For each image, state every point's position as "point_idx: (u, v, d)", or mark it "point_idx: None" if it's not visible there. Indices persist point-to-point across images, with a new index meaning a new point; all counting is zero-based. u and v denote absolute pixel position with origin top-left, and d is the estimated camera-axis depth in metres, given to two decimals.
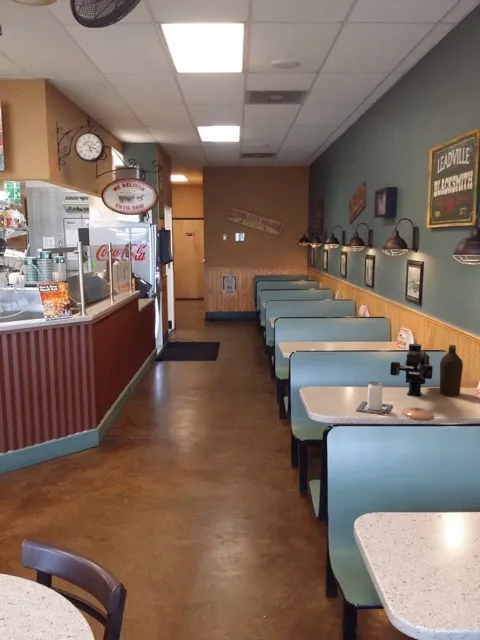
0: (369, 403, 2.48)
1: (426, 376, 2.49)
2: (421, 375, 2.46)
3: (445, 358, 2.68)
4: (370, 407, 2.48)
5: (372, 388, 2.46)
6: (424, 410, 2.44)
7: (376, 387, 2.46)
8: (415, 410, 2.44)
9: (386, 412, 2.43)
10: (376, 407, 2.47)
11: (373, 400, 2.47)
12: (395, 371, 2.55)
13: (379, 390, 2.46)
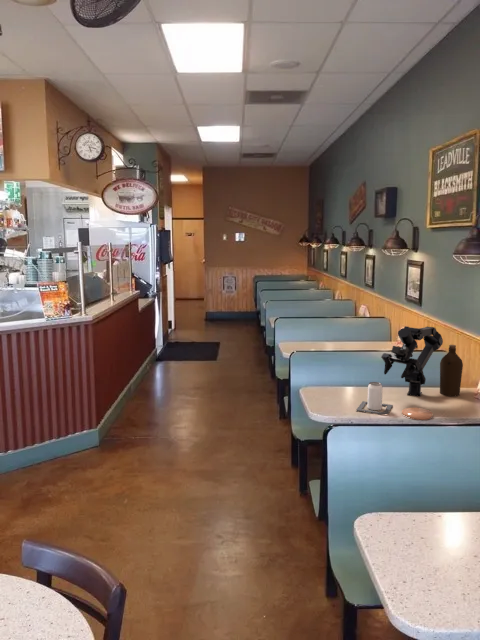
0: (369, 403, 2.48)
1: (413, 369, 2.53)
2: (405, 375, 2.52)
3: (445, 358, 2.68)
4: (370, 407, 2.48)
5: (372, 388, 2.46)
6: (424, 410, 2.44)
7: (376, 387, 2.46)
8: (415, 410, 2.44)
9: (386, 412, 2.43)
10: (376, 407, 2.47)
11: (373, 400, 2.47)
12: None
13: (379, 390, 2.46)
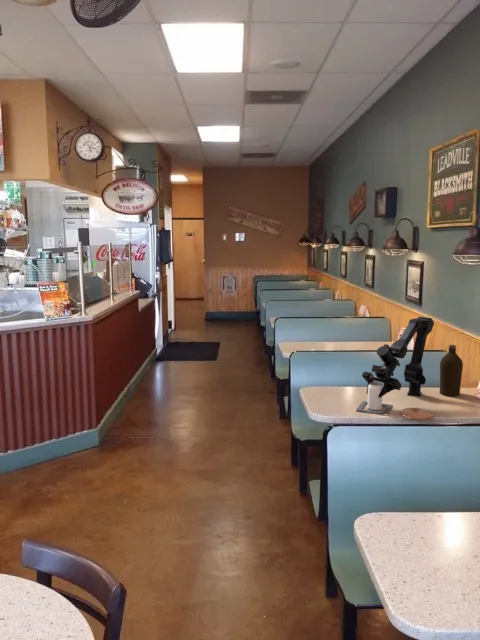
0: (369, 403, 2.48)
1: (391, 388, 2.47)
2: (382, 394, 2.46)
3: (445, 358, 2.68)
4: (370, 407, 2.48)
5: (372, 388, 2.46)
6: (424, 410, 2.44)
7: (376, 387, 2.46)
8: (415, 410, 2.44)
9: (386, 412, 2.43)
10: (376, 407, 2.47)
11: (373, 400, 2.47)
12: None
13: (379, 390, 2.46)
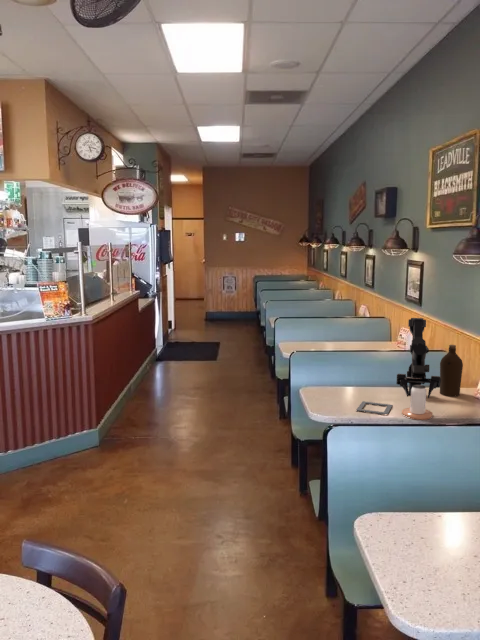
0: (416, 408, 2.38)
1: (434, 387, 2.42)
2: None
3: (445, 358, 2.68)
4: (418, 412, 2.38)
5: (420, 392, 2.36)
6: None
7: (423, 390, 2.37)
8: None
9: (386, 412, 2.43)
10: (424, 410, 2.38)
11: (421, 404, 2.37)
12: (402, 384, 2.45)
13: (425, 392, 2.38)
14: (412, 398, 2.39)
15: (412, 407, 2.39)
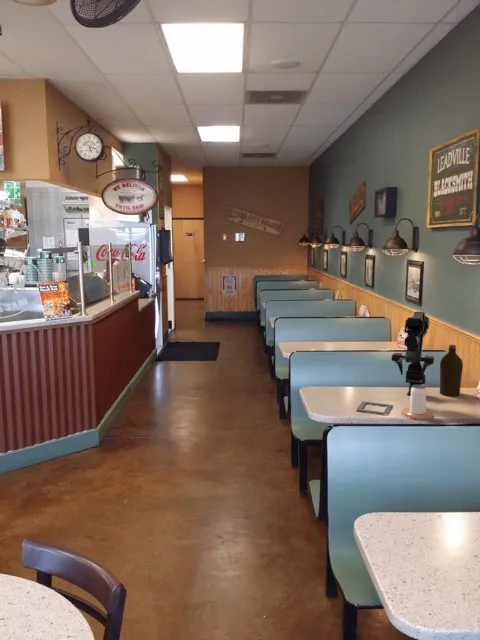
0: (416, 408, 2.38)
1: None
2: None
3: (445, 358, 2.68)
4: (417, 412, 2.38)
5: (420, 392, 2.36)
6: None
7: (423, 390, 2.37)
8: None
9: (386, 412, 2.43)
10: (424, 410, 2.38)
11: (421, 404, 2.37)
12: None
13: (425, 392, 2.38)
14: (412, 398, 2.39)
15: (412, 407, 2.39)
